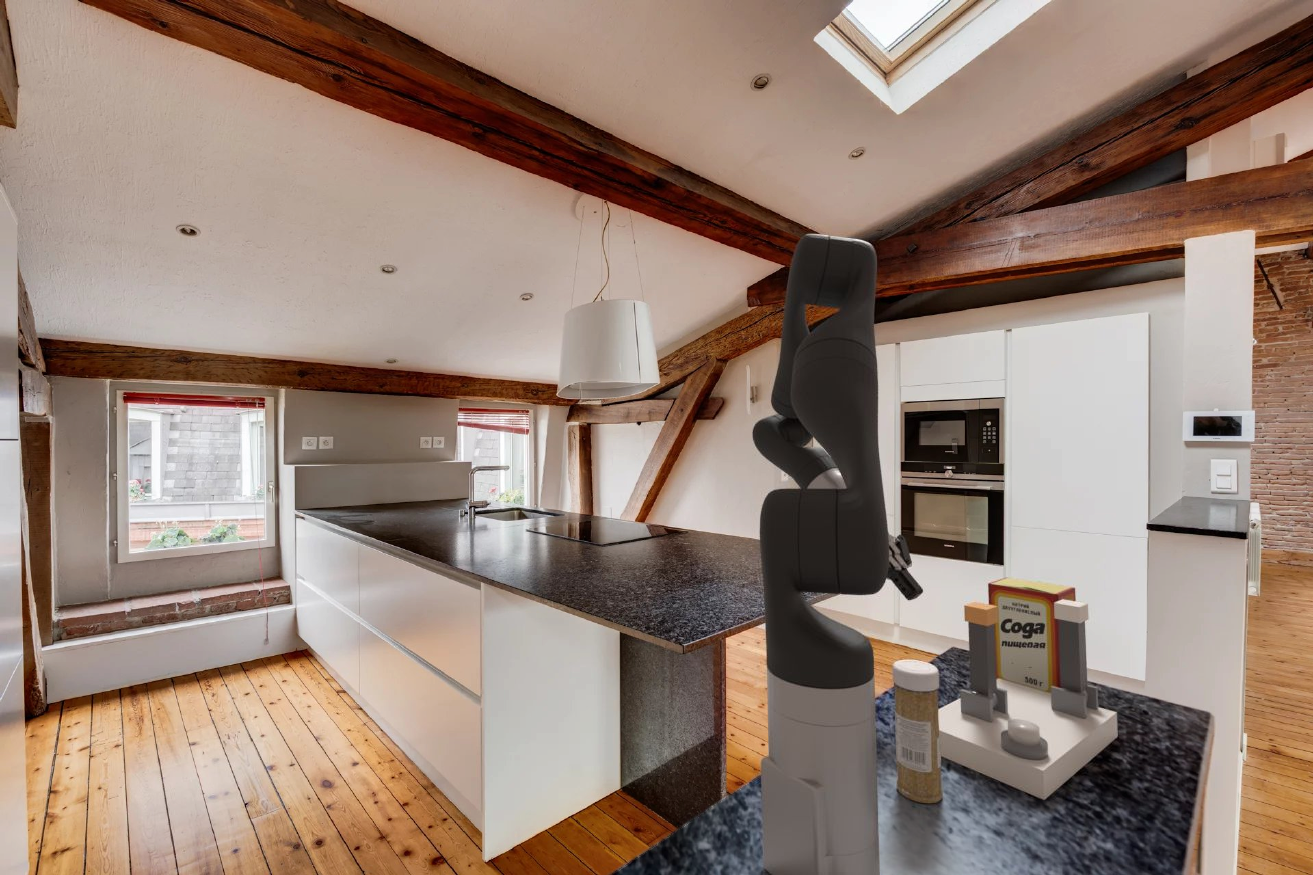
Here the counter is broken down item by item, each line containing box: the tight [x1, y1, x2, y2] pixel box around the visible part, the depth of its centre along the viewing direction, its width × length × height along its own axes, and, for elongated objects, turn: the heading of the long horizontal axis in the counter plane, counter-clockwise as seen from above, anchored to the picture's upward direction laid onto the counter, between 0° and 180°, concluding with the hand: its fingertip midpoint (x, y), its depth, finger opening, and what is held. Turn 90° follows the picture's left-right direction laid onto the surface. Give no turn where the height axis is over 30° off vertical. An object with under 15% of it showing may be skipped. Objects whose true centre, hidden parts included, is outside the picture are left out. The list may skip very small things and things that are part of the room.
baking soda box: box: [987, 577, 1077, 693], centre depth 87 cm, size 10×6×16 cm
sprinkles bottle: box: [891, 659, 944, 804], centre depth 61 cm, size 5×5×13 cm
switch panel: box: [938, 678, 1119, 801], centre depth 72 cm, size 22×14×6 cm, turn 125°
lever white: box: [1054, 599, 1090, 702], centre depth 74 cm, size 3×3×13 cm
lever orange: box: [963, 601, 998, 707], centre depth 73 cm, size 3×3×13 cm
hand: (916, 596), depth 80 cm, fingers closed
